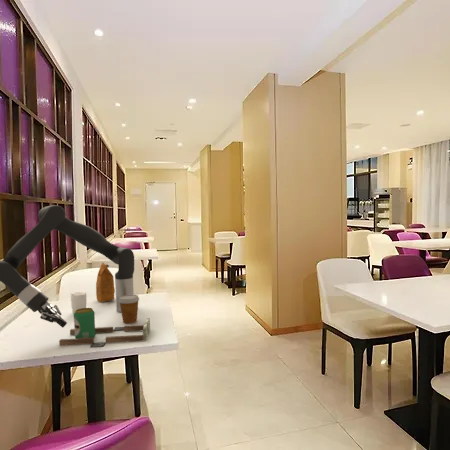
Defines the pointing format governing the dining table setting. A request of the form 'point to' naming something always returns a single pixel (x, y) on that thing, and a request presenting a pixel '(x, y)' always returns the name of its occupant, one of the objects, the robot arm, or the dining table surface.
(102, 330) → the walnut track
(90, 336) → the beverage can
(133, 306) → the disposable coffee cup
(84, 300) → the white cup
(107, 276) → the coffee package
